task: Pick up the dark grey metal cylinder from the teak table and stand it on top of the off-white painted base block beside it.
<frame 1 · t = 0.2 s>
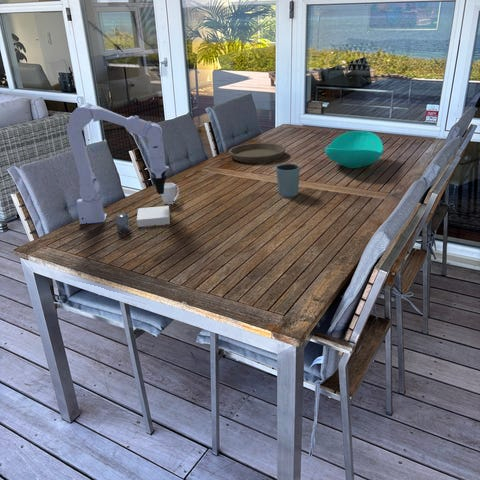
hand: (160, 190, 186), 10 cm above the table, tool pointing down, fingers open, 7 cm apart
table top decor: (353, 166, 239), on the table
base block: (154, 219, 185), on the table
plant saucer: (257, 157, 263), on the table
cup: (171, 202, 202), on the table
grey cylinder: (123, 230, 177), on the table
drinking glass: (287, 193, 206), on the table
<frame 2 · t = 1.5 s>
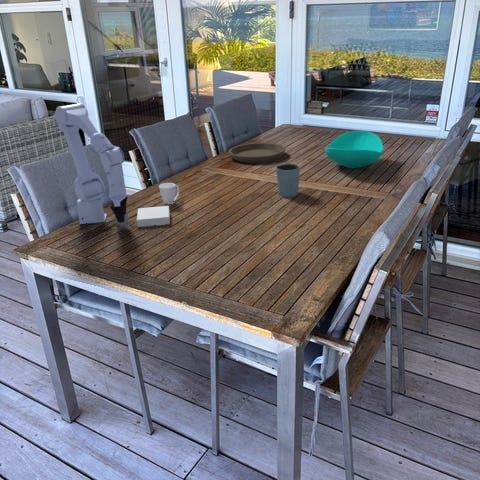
hand: (122, 218, 175), 5 cm above the table, tool pointing down, fingers open, 7 cm apart
nothing on the table moved.
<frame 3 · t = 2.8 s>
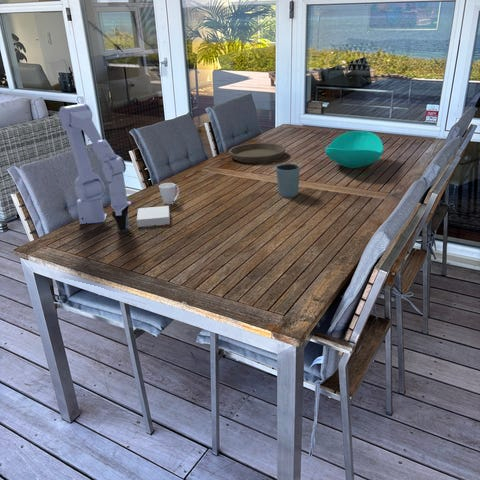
hand: (123, 226, 176), 2 cm above the table, tool pointing down, fingers closed on grey cylinder, 4 cm apart
grey cylinder: (123, 230, 177), on the table, touching gripper
everything else where it was.
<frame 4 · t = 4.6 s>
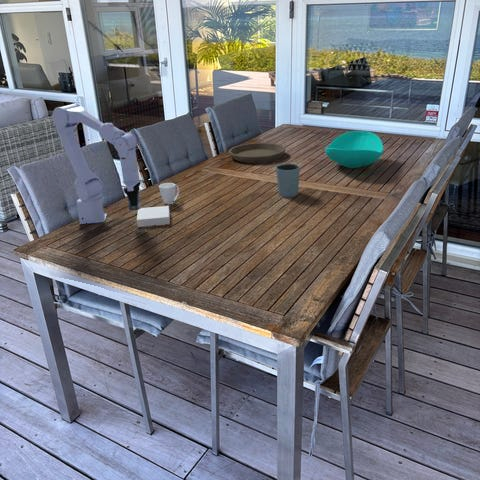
hand: (134, 203, 177), 9 cm above the table, tool pointing down, fingers closed on grey cylinder, 4 cm apart
grey cylinder: (135, 208, 178), point 7 cm above the table, touching gripper
everything else where it was.
when the fingers open (6 cm above the table, at t = 6.4 s): grey cylinder drops 1 cm, resting on base block.
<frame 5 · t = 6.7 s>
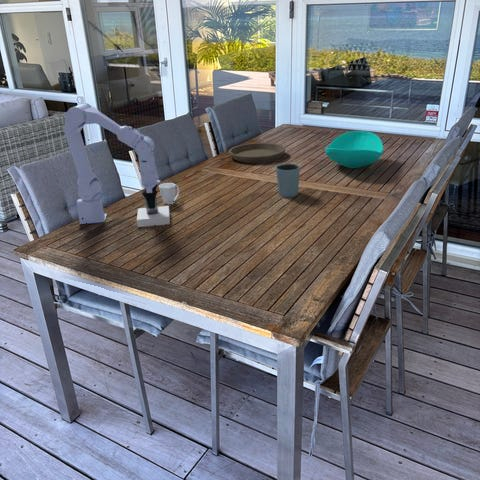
hand: (152, 204, 183), 6 cm above the table, tool pointing down, fingers open, 7 cm apart
grey cylinder: (152, 212, 184), point 3 cm above the table, touching base block
everything else where it was.
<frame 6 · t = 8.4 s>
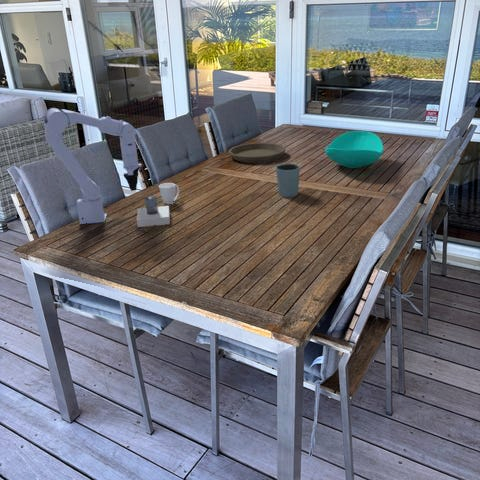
hand: (134, 187, 191), 10 cm above the table, tool pointing down, fingers open, 7 cm apart
nothing on the table moved.
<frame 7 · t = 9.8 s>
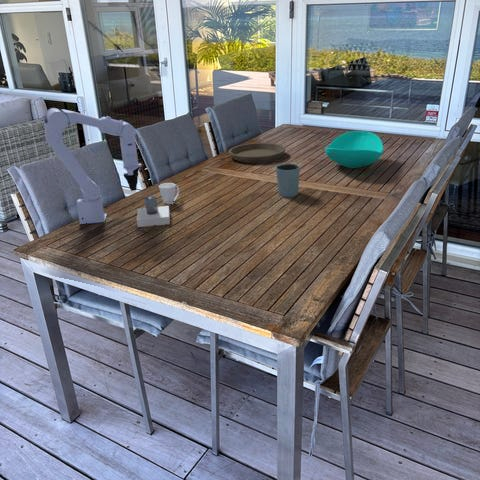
hand: (134, 187, 191), 10 cm above the table, tool pointing down, fingers open, 7 cm apart
nothing on the table moved.
at the end: grey cylinder 0.2 cm off-centre on the base block, point 3.1 cm above the base block's base; grey cylinder tilted 3°; the gripper is holding nothing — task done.
